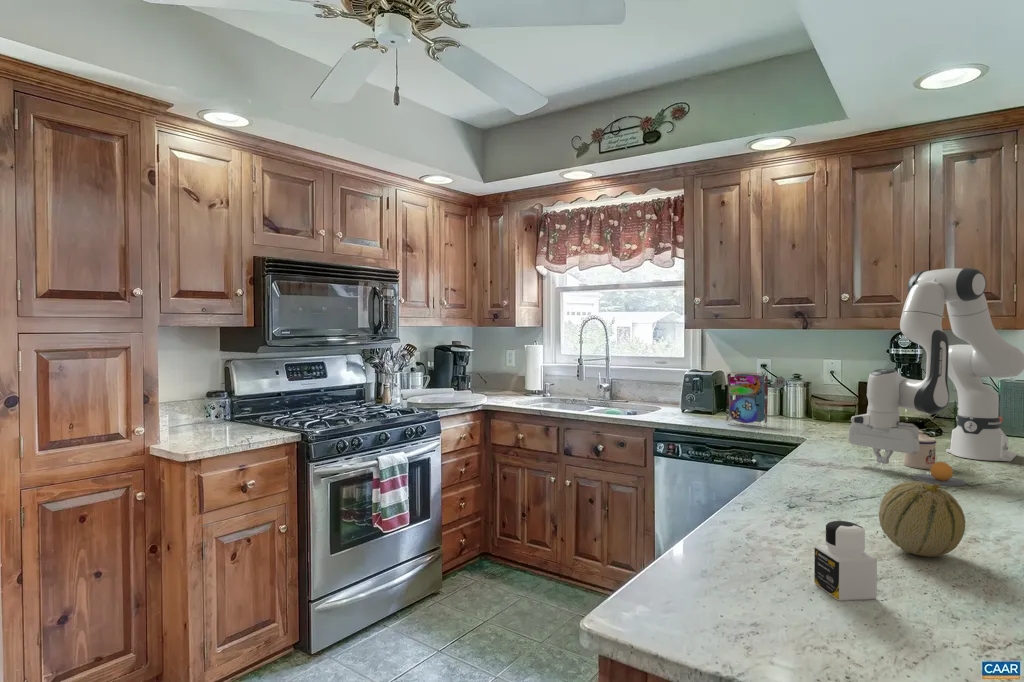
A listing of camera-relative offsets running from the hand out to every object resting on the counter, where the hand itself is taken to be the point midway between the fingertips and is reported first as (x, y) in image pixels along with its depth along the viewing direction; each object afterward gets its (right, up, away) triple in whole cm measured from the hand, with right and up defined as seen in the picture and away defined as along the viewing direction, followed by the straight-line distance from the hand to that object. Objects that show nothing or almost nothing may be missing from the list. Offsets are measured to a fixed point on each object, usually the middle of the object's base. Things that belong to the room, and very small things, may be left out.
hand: (882, 462), depth 193 cm
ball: (+9, 0, -14) cm, 17 cm away
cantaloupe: (-35, -5, -70) cm, 78 cm away
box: (-8, 0, +80) cm, 80 cm away
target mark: (+8, -2, -14) cm, 16 cm away
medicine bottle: (-60, -5, -87) cm, 106 cm away
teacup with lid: (+15, -2, +5) cm, 16 cm away
